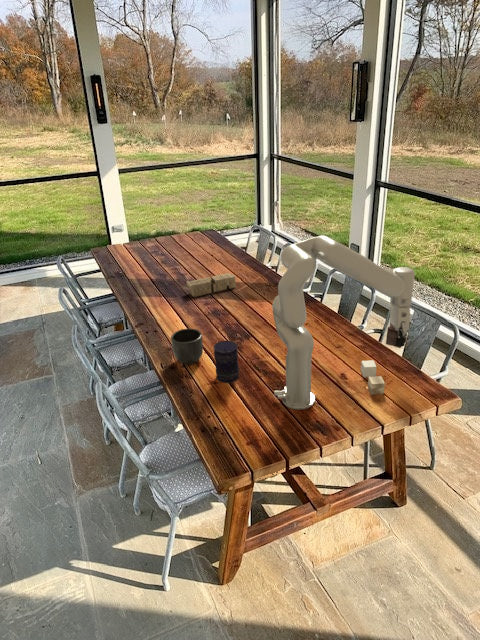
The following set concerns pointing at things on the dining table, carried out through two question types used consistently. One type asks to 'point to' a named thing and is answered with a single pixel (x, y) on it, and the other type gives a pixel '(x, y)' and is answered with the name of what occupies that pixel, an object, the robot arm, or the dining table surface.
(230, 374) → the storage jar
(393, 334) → the box
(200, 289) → the tan double block
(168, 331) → the dining table surface
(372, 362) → the grey block
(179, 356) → the planter
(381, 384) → the birch block
